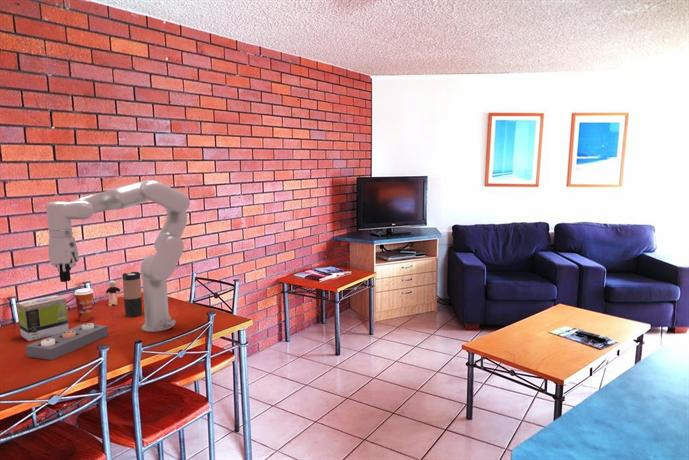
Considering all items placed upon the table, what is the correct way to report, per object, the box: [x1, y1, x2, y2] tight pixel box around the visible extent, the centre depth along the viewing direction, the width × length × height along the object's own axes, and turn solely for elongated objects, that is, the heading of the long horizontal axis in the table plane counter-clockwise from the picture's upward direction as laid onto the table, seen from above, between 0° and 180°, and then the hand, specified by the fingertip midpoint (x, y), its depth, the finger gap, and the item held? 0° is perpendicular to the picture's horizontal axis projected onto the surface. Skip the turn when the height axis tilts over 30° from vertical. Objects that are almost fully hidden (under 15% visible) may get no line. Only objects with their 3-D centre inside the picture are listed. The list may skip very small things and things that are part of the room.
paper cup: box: [73, 287, 94, 323], centre depth 210 cm, size 8×8×14 cm
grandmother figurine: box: [104, 280, 122, 307], centre depth 233 cm, size 8×4×13 cm, turn 132°
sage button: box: [81, 322, 95, 331], centre depth 187 cm, size 4×4×4 cm
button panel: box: [25, 323, 109, 361], centre depth 179 cm, size 12×26×4 cm, turn 163°
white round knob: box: [41, 338, 55, 347], centre depth 170 cm, size 4×4×4 cm
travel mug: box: [122, 271, 143, 318], centre depth 216 cm, size 8×8×20 cm
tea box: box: [16, 294, 70, 342], centre depth 191 cm, size 15×10×15 cm
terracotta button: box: [62, 330, 76, 339], centre depth 179 cm, size 4×4×4 cm
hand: (65, 281), depth 176 cm, fingers closed
